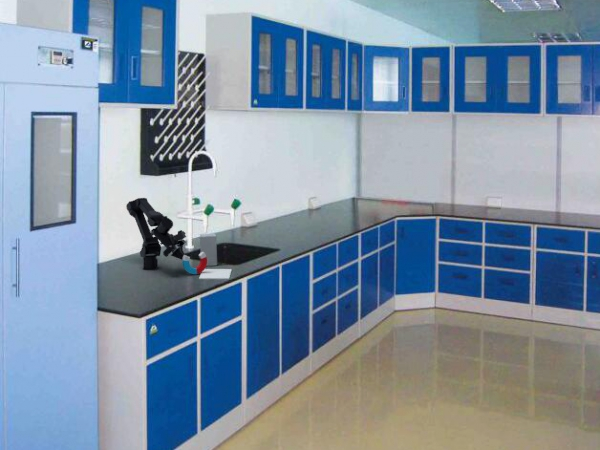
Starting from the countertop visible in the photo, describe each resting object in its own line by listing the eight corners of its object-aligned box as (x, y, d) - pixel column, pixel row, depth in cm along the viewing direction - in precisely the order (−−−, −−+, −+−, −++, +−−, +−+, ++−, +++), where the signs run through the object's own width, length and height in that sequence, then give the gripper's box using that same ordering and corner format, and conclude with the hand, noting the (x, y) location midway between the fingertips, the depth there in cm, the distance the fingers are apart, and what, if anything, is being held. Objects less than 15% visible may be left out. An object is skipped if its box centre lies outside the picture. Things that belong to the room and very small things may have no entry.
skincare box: (216, 263, 395) (216, 233, 393) (217, 266, 388) (217, 235, 386) (200, 263, 394) (199, 233, 392) (200, 266, 387) (200, 235, 385)
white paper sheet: (199, 279, 360) (199, 278, 360) (203, 269, 379) (203, 268, 379) (229, 279, 360) (229, 278, 360) (231, 270, 380) (231, 269, 380)
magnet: (185, 276, 366) (183, 255, 364) (183, 275, 368) (181, 255, 366) (208, 272, 371) (206, 251, 369) (206, 271, 373) (204, 251, 372)
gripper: (169, 228, 358) (192, 252, 358) (181, 222, 376) (203, 245, 376) (153, 244, 360) (176, 268, 360) (166, 238, 379) (188, 261, 379)
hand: (186, 260), depth 369 cm, fingers closed
